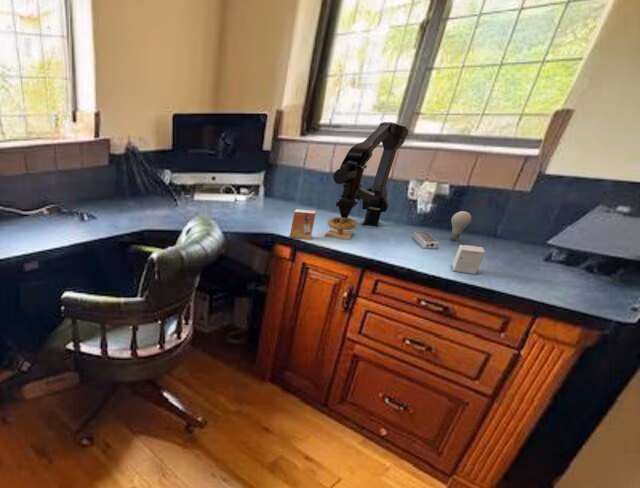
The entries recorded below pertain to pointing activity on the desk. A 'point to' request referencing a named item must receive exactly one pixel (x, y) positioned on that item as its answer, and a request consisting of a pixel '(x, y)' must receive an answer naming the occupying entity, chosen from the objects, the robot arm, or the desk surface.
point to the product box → (468, 259)
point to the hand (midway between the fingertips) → (344, 220)
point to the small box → (302, 224)
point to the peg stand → (340, 232)
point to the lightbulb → (459, 223)
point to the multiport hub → (425, 240)
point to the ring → (347, 226)
